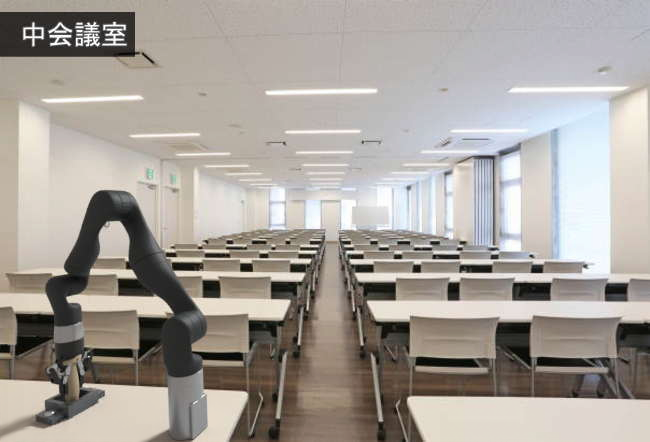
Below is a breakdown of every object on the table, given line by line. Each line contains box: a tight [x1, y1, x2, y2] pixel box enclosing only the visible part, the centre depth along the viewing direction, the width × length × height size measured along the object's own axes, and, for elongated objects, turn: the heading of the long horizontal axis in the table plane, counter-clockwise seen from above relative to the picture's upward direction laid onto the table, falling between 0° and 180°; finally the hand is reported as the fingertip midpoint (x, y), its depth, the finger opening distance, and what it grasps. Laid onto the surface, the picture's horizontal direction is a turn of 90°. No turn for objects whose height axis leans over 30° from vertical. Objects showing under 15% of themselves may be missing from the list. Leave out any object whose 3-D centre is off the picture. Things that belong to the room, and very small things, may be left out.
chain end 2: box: [70, 386, 106, 418], centre depth 111 cm, size 10×12×4 cm
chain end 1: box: [35, 392, 74, 426], centre depth 107 cm, size 10×12×4 cm
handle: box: [63, 354, 82, 403], centre depth 109 cm, size 5×6×15 cm
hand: (72, 390), depth 109 cm, fingers closed on handle, 4 cm apart
